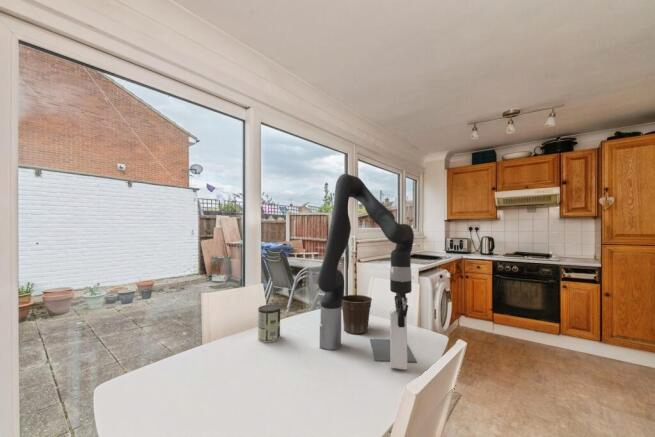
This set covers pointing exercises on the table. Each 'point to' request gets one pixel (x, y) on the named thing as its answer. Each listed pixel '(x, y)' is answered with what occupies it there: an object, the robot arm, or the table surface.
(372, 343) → the mat
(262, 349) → the table surface
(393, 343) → the milk
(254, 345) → the table surface
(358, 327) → the plant pot
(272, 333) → the coffee can
